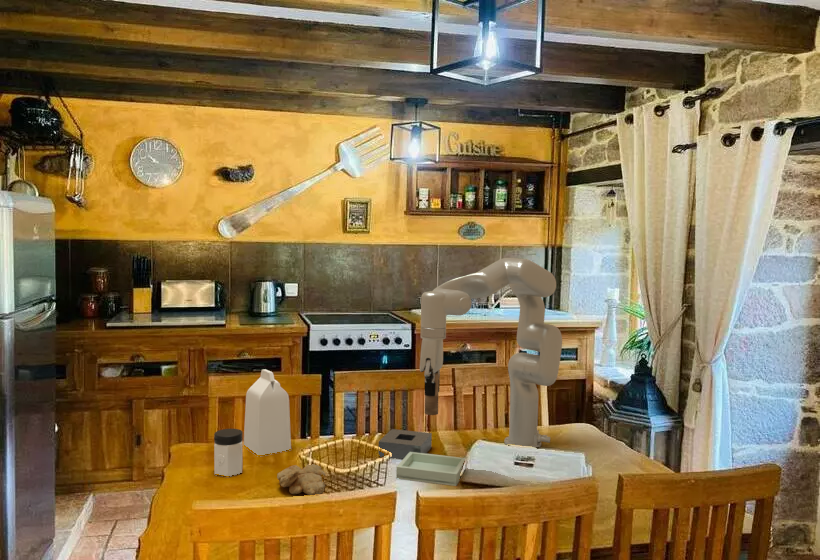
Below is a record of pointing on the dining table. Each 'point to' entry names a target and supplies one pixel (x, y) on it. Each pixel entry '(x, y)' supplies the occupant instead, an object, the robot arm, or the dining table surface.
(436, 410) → the walnut peg
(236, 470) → the jar
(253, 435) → the milk
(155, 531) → the dining table surface
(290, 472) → the ginger root
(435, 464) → the sage tray
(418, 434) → the block
